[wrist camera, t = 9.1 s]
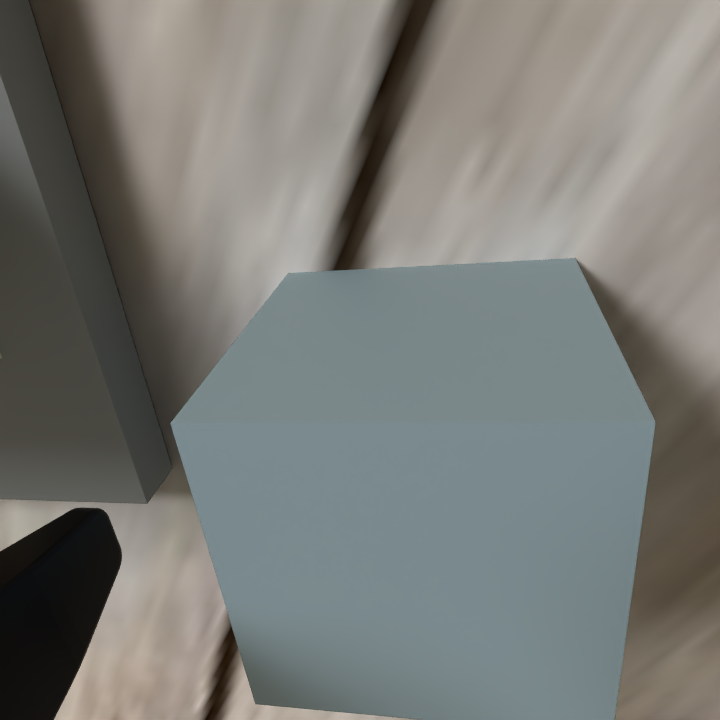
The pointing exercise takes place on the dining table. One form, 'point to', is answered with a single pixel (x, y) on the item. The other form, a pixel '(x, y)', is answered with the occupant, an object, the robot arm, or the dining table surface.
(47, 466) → the board
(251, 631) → the blue block
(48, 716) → the robot arm
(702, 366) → the dining table surface
